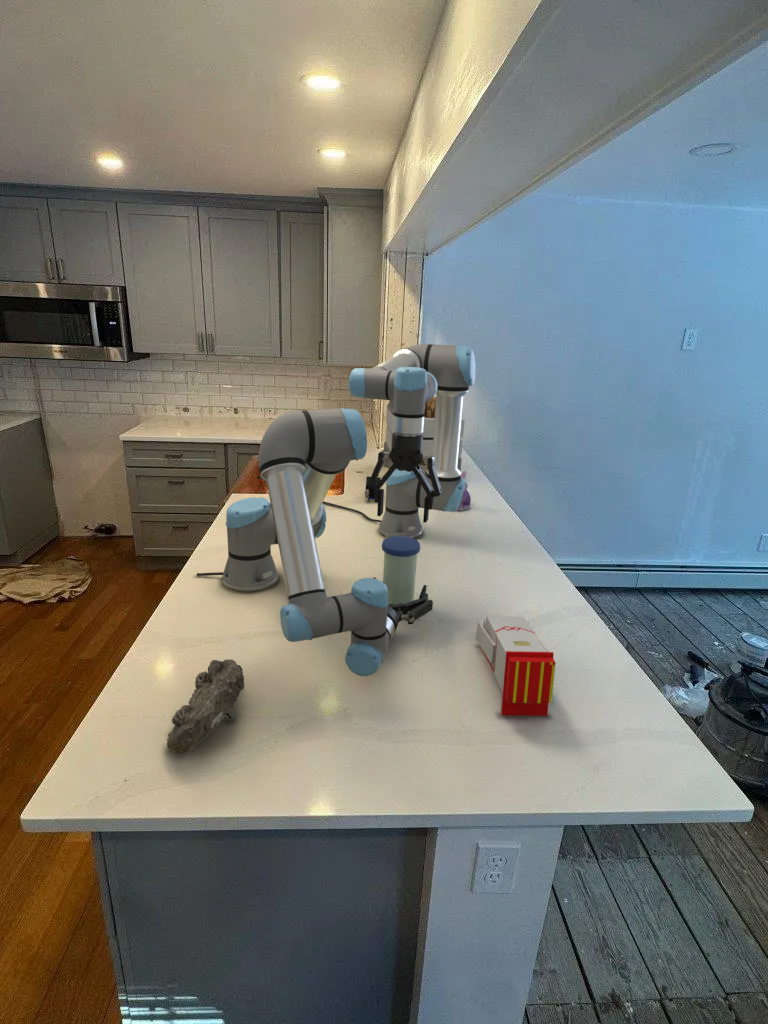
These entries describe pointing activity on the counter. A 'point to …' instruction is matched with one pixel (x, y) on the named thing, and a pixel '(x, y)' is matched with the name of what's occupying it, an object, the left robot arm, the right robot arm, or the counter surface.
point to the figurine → (464, 496)
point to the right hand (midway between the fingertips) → (402, 517)
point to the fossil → (206, 705)
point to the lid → (400, 546)
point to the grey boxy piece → (427, 433)
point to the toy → (518, 664)
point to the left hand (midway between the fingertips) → (399, 585)
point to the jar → (399, 578)
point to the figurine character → (370, 489)
